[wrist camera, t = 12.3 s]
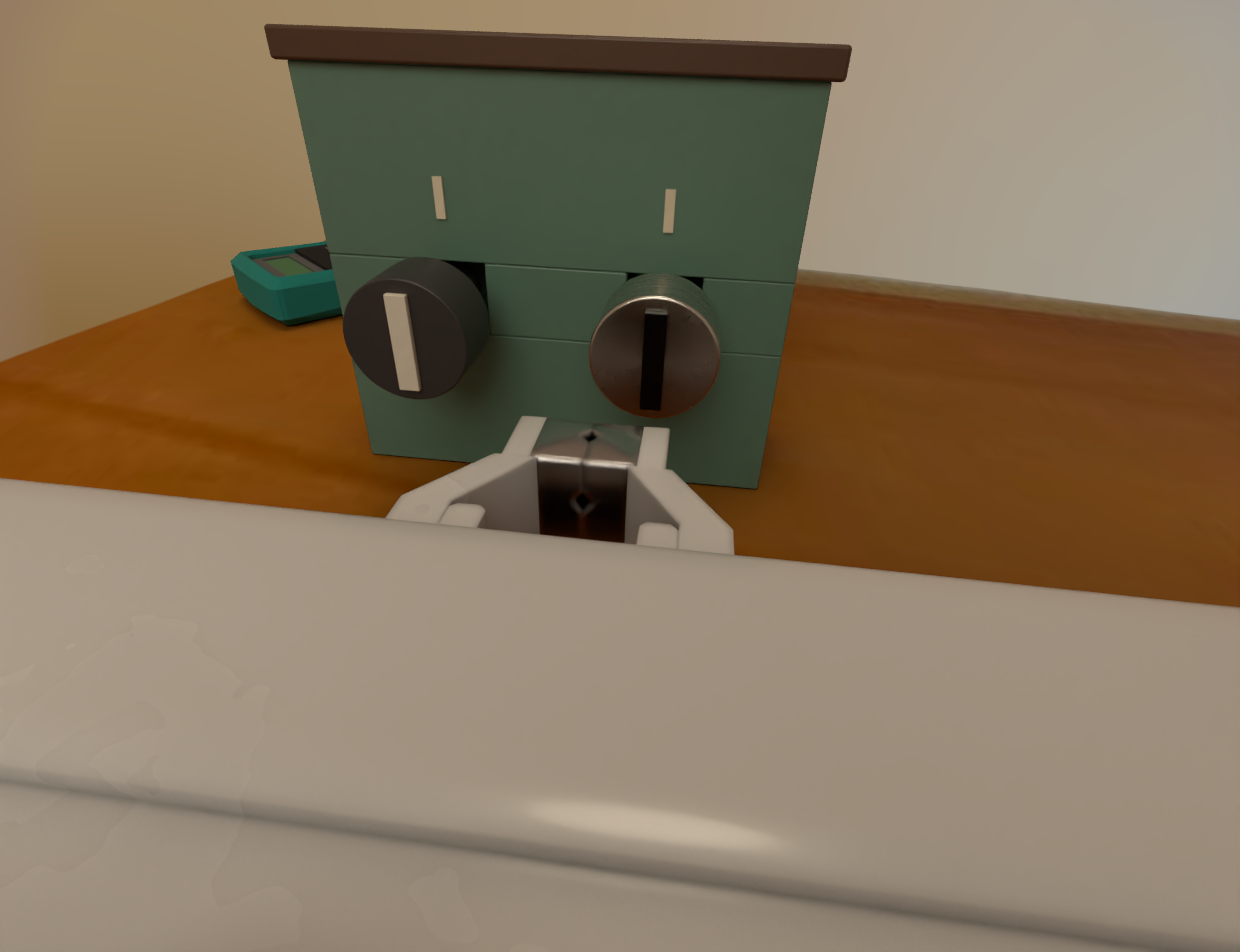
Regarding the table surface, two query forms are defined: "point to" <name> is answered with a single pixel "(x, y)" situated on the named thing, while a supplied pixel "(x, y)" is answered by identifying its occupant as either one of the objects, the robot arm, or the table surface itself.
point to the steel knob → (656, 346)
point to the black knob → (417, 327)
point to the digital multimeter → (289, 282)
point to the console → (568, 209)
